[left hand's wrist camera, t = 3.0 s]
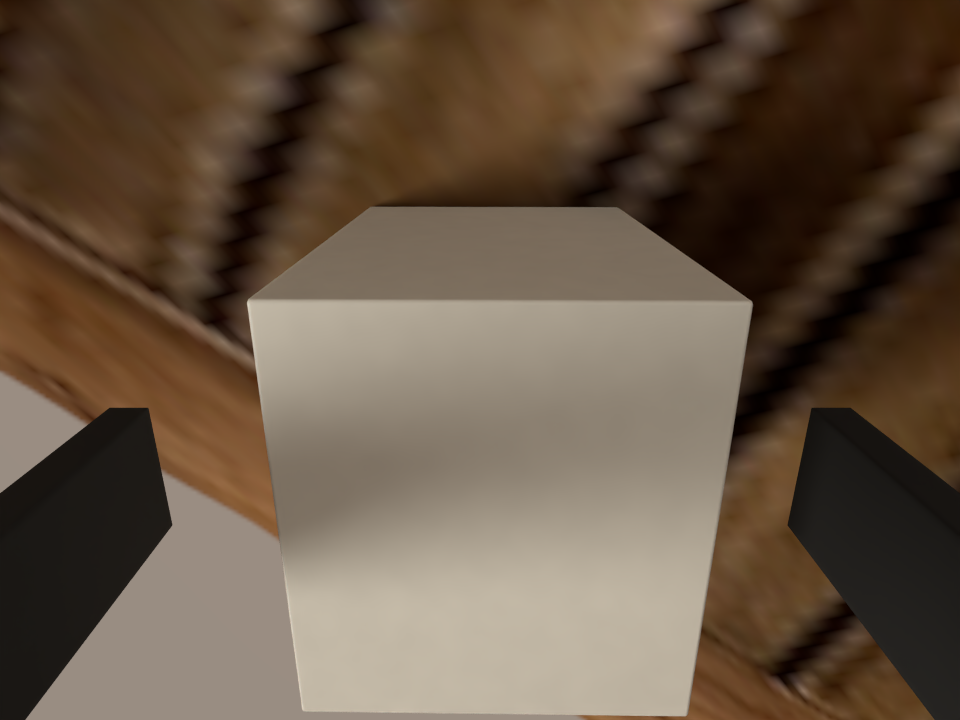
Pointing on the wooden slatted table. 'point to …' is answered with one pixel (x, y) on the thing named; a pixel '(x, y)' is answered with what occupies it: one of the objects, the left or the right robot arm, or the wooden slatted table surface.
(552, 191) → the wooden slatted table surface
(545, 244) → the brick
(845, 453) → the left robot arm
